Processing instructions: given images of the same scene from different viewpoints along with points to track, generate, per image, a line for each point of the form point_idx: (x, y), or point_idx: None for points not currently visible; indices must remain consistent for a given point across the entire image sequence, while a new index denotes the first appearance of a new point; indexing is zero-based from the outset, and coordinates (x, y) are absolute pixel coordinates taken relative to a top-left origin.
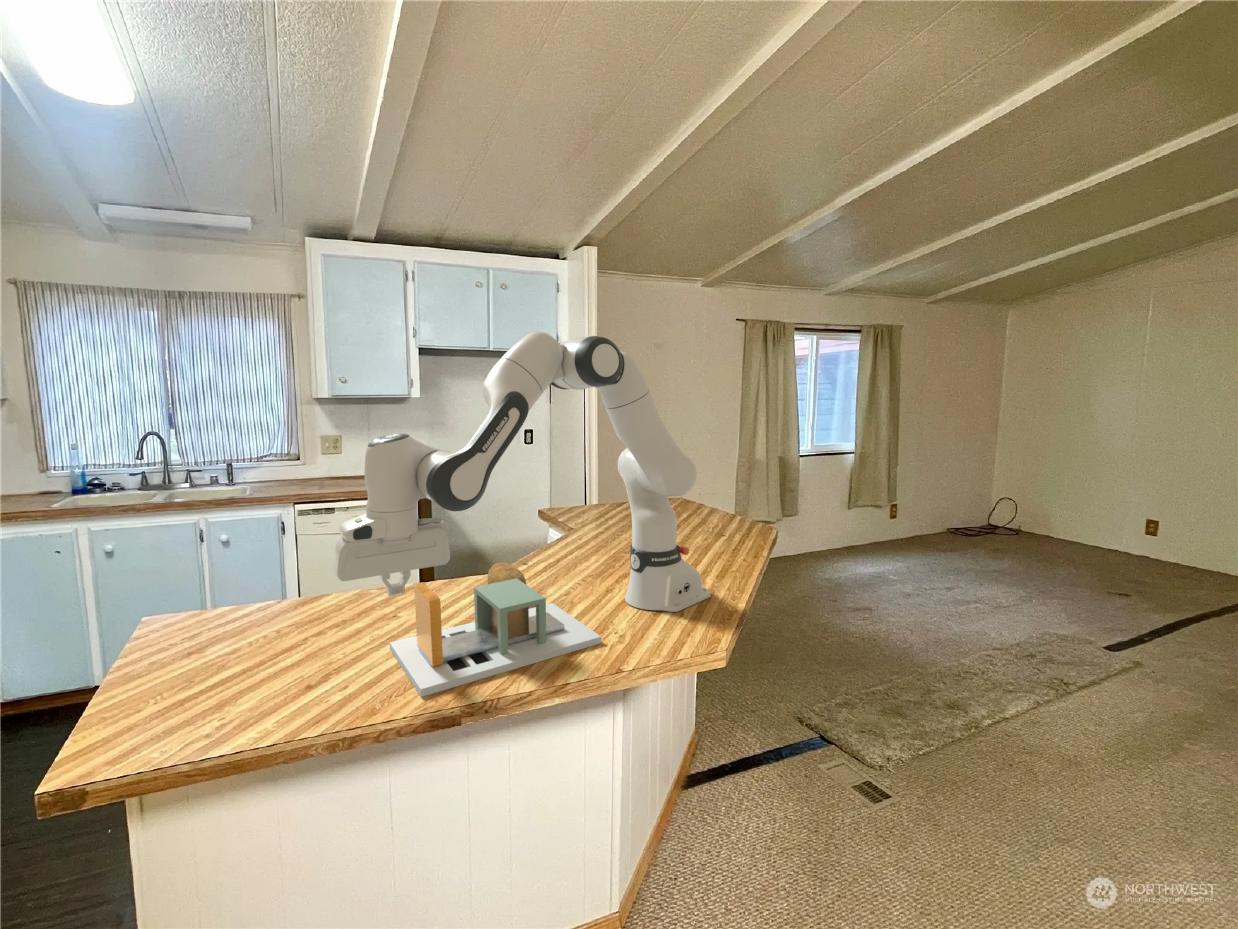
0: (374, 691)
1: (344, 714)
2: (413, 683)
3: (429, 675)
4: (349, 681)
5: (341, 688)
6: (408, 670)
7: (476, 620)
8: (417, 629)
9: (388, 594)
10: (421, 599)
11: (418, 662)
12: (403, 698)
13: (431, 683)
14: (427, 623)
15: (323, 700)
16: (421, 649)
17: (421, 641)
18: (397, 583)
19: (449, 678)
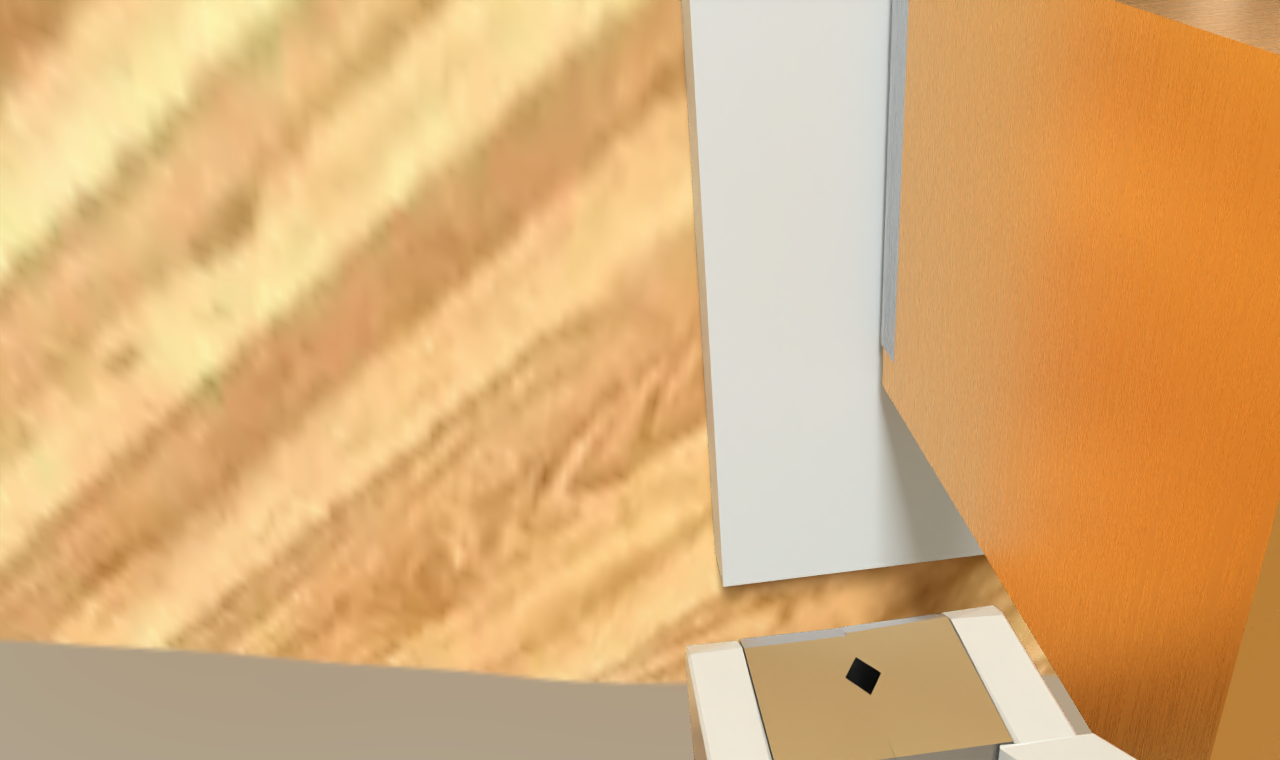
0: (447, 369)
1: (261, 551)
2: (709, 424)
3: (826, 452)
4: (257, 134)
5: (203, 222)
6: (711, 319)
7: None
8: (970, 5)
9: (695, 749)
10: (1189, 471)
11: (815, 225)
12: (616, 522)
13: (804, 551)
14: (1028, 512)
15: (92, 340)
16: (900, 94)
17: (930, 132)
18: (960, 757)
19: (926, 537)
